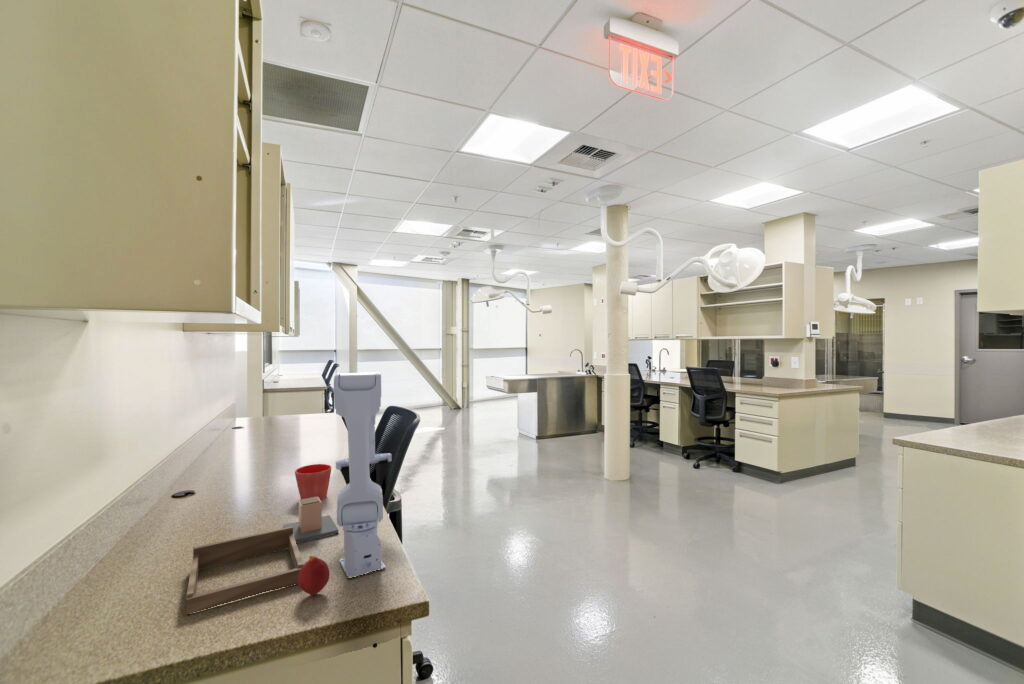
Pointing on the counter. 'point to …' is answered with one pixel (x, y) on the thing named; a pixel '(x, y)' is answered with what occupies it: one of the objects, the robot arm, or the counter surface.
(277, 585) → the open wooden frame
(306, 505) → the upright tan block
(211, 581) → the counter surface
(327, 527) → the rubber mat
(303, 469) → the flower pot
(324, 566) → the onion
